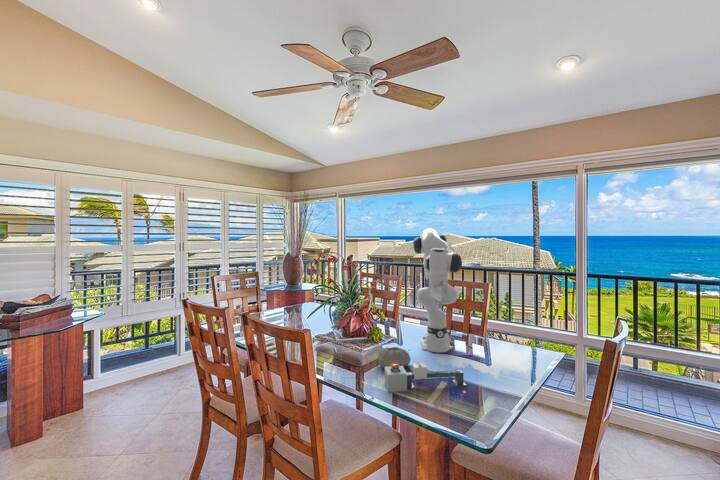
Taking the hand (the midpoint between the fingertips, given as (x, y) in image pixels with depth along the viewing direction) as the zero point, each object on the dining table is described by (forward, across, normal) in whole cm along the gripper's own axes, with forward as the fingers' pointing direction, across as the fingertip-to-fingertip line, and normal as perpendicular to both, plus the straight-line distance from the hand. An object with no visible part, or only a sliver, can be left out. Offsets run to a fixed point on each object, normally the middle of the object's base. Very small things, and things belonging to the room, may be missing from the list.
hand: (438, 308), depth 162 cm
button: (+31, -7, +23) cm, 40 cm away
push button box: (+35, -7, +23) cm, 43 cm away
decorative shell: (+35, +16, +20) cm, 44 cm away
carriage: (+31, -7, +12) cm, 34 cm away
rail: (+35, -7, +5) cm, 36 cm away
